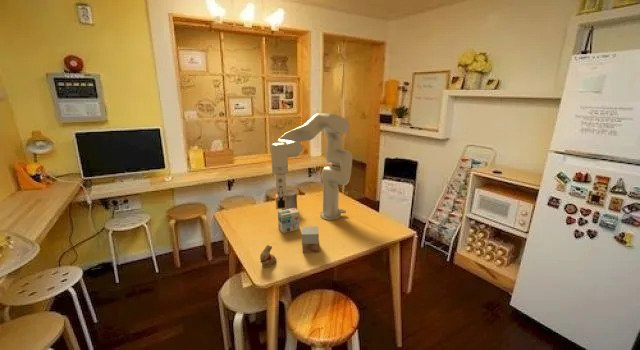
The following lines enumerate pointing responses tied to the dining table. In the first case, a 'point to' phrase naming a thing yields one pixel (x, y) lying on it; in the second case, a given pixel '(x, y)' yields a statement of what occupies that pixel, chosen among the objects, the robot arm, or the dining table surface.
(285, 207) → the block
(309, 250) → the tower base
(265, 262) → the chocolate bunny
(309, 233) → the tower top
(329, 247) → the dining table surface
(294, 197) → the pillar candle
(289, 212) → the light bulb box
